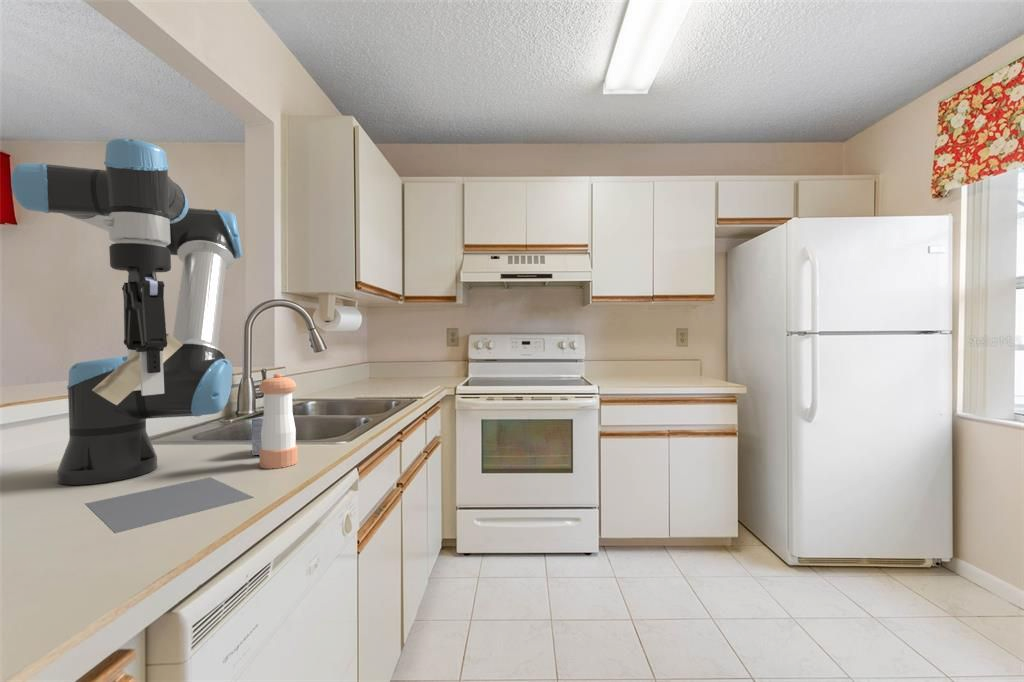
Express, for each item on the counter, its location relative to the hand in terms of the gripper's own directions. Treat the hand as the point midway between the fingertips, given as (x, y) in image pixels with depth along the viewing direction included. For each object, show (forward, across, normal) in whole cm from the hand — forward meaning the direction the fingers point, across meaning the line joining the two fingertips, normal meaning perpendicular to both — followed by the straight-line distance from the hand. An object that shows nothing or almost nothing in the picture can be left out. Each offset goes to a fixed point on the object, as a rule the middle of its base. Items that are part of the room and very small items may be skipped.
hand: (146, 391), depth 75 cm
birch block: (0, 0, -5) cm, 5 cm away
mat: (+18, 0, +3) cm, 19 cm away
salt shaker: (+19, -10, +24) cm, 33 cm away
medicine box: (+20, -22, +28) cm, 41 cm away
